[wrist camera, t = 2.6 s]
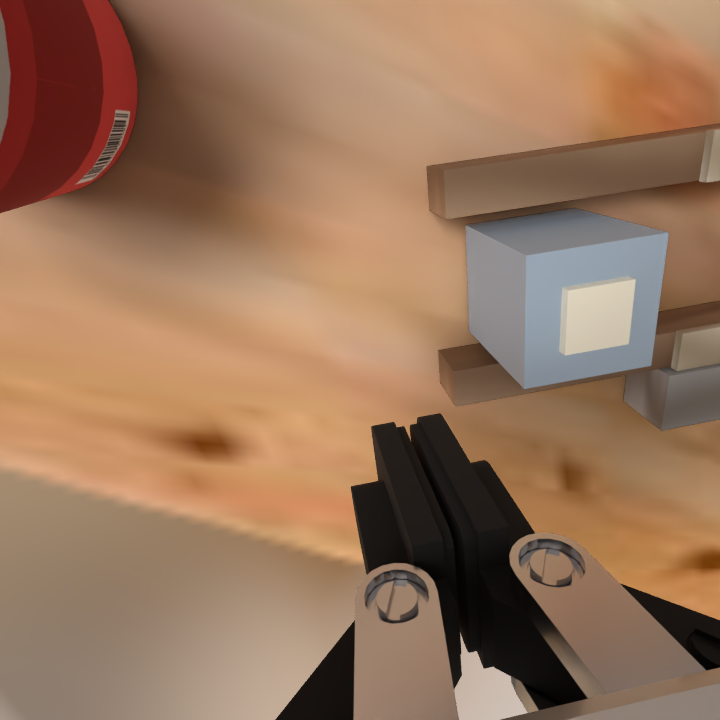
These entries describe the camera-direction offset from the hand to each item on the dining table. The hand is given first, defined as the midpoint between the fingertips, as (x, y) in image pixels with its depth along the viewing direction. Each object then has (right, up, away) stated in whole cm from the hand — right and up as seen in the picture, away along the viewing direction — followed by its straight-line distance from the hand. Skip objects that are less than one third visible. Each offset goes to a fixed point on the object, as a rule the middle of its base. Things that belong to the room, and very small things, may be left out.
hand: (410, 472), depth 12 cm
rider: (+6, +7, +11) cm, 15 cm away
